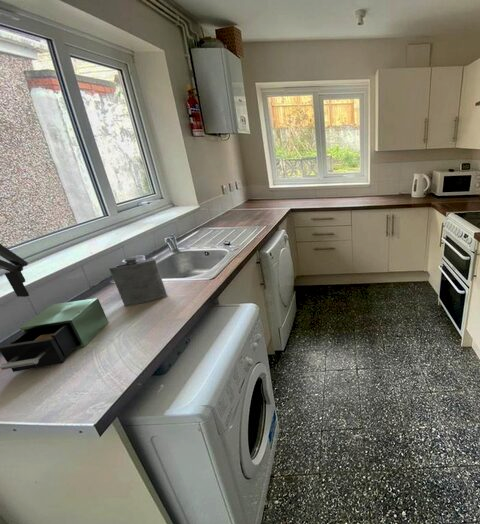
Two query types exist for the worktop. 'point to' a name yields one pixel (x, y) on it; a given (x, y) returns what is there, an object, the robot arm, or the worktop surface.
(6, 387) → the worktop surface
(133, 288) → the flask
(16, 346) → the fryer drawer
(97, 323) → the fryer
